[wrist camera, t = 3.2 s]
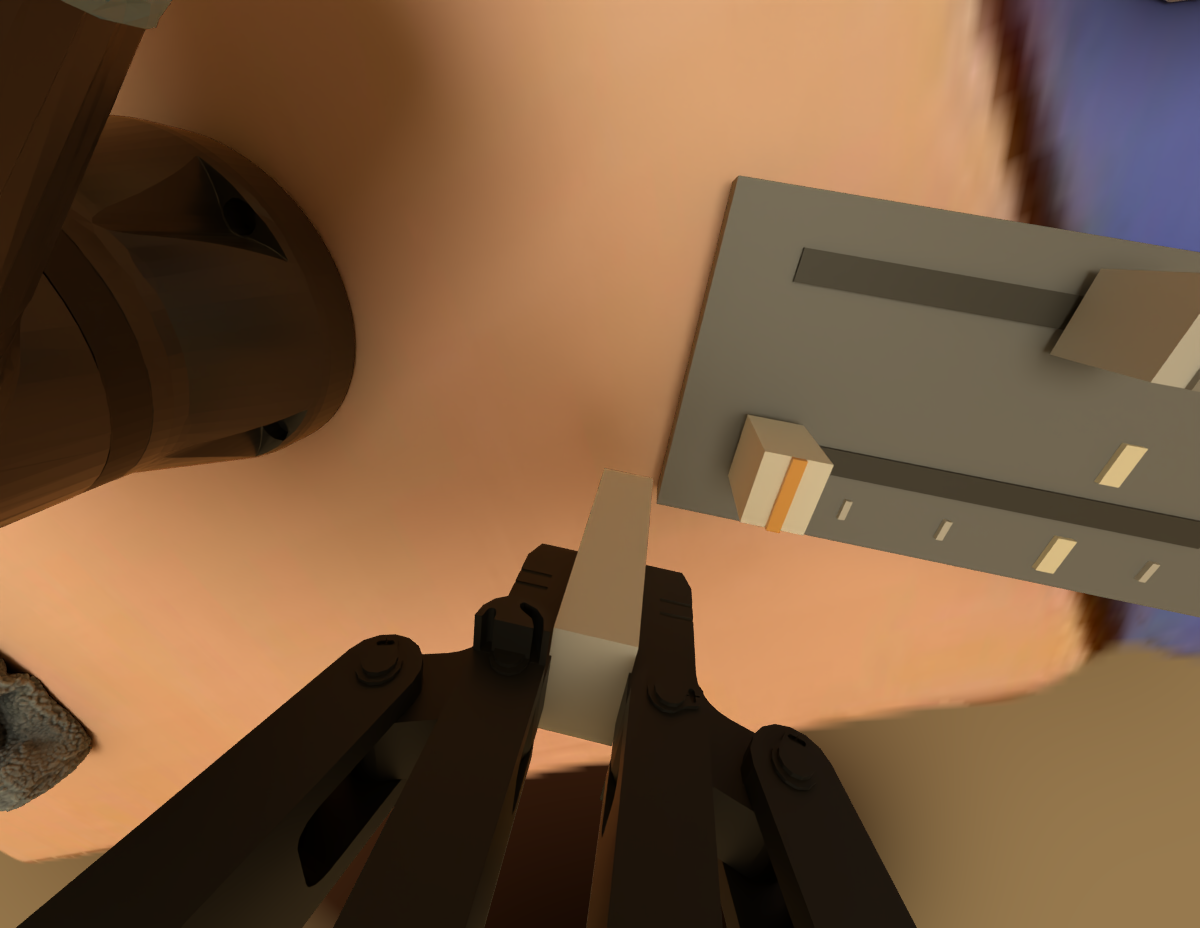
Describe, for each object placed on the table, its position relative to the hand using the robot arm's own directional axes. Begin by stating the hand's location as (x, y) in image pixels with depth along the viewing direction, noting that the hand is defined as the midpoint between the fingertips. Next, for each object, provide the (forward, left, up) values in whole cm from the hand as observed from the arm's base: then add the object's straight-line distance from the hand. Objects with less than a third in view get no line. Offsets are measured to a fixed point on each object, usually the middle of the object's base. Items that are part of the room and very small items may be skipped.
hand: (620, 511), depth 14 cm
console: (+15, +3, -10) cm, 18 cm away
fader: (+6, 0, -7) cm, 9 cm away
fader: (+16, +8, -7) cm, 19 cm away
